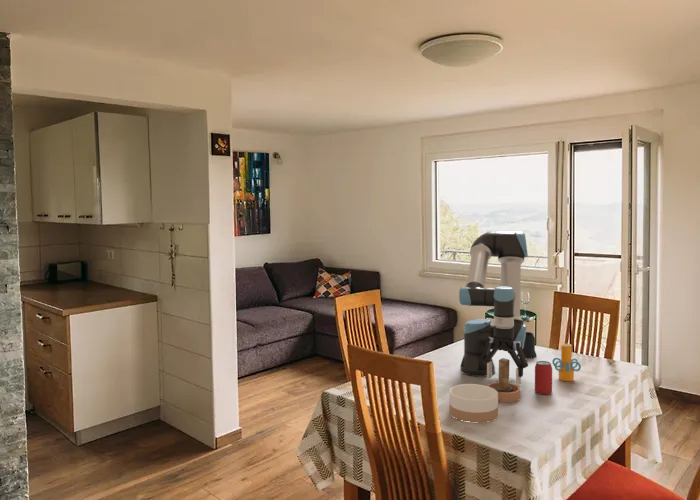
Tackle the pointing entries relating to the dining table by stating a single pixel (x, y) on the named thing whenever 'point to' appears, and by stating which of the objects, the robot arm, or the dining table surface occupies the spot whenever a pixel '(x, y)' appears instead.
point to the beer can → (543, 377)
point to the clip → (504, 391)
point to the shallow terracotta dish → (508, 396)
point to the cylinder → (566, 363)
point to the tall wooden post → (503, 374)
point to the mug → (529, 346)
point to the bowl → (473, 402)
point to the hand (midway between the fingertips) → (503, 381)
